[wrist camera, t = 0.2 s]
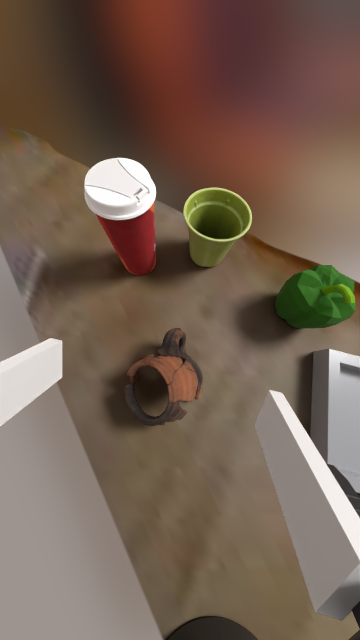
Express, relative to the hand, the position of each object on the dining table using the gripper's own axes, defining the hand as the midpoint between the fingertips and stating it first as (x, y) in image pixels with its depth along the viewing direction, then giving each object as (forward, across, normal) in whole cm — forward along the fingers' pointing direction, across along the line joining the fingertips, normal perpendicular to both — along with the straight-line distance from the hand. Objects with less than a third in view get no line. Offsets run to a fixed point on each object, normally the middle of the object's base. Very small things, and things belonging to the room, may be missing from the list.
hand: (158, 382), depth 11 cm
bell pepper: (+22, -17, -3) cm, 28 cm away
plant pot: (+26, -1, -10) cm, 28 cm away
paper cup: (+23, +10, -6) cm, 26 cm away
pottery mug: (+14, 0, +9) cm, 16 cm away
